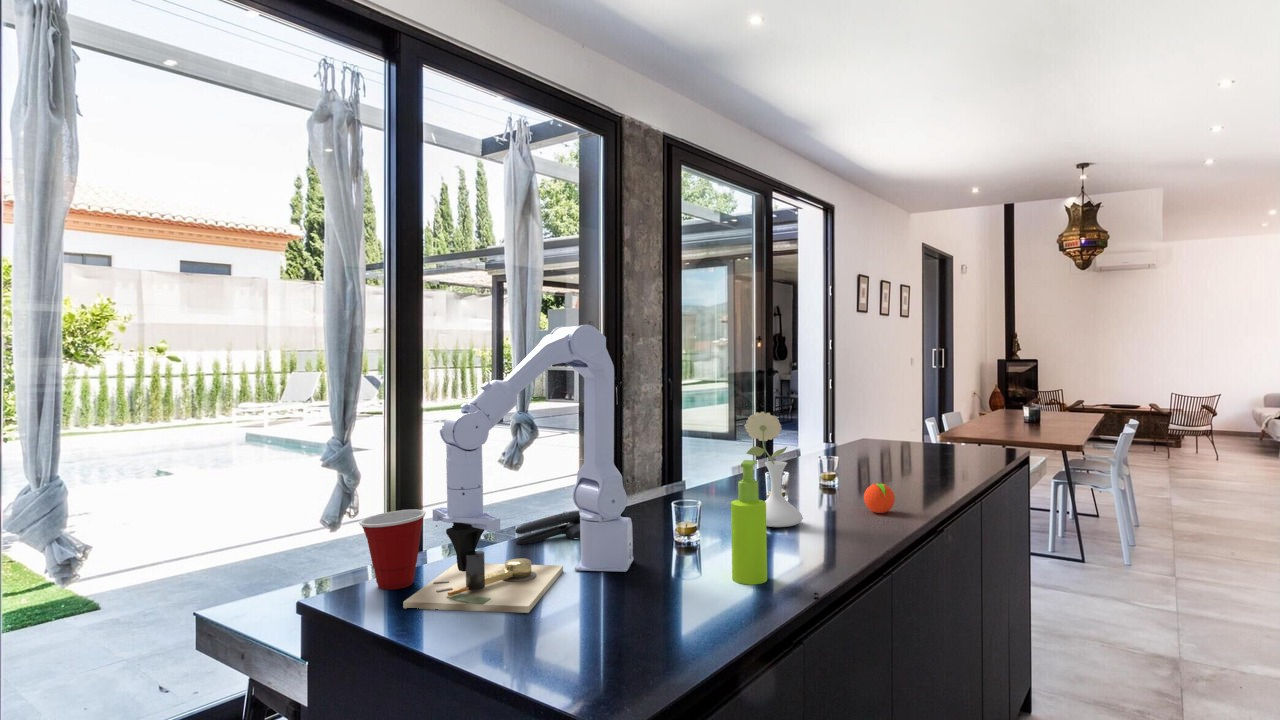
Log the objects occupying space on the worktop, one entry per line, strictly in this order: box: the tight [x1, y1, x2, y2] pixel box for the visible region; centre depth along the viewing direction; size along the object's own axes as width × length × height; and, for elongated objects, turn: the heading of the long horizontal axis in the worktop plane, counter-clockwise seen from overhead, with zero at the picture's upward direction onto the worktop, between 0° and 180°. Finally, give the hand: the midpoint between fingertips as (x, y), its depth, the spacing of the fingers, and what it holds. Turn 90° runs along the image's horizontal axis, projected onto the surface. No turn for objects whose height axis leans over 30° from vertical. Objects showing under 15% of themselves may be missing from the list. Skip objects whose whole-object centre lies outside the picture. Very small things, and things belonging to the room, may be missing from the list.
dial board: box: [402, 562, 564, 614], centre depth 124 cm, size 20×21×1 cm
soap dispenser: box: [730, 459, 768, 586], centre depth 127 cm, size 6×7×20 cm
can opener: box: [514, 510, 580, 545], centre depth 156 cm, size 18×7×6 cm, turn 118°
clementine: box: [863, 482, 896, 514], centre depth 174 cm, size 8×7×7 cm
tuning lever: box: [448, 550, 532, 596], centre depth 122 cm, size 16×4×6 cm, turn 140°
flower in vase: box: [744, 411, 804, 528], centre depth 165 cm, size 13×11×25 cm
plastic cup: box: [358, 509, 426, 591], centre depth 127 cm, size 11×11×12 cm
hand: (466, 569), depth 121 cm, fingers closed
